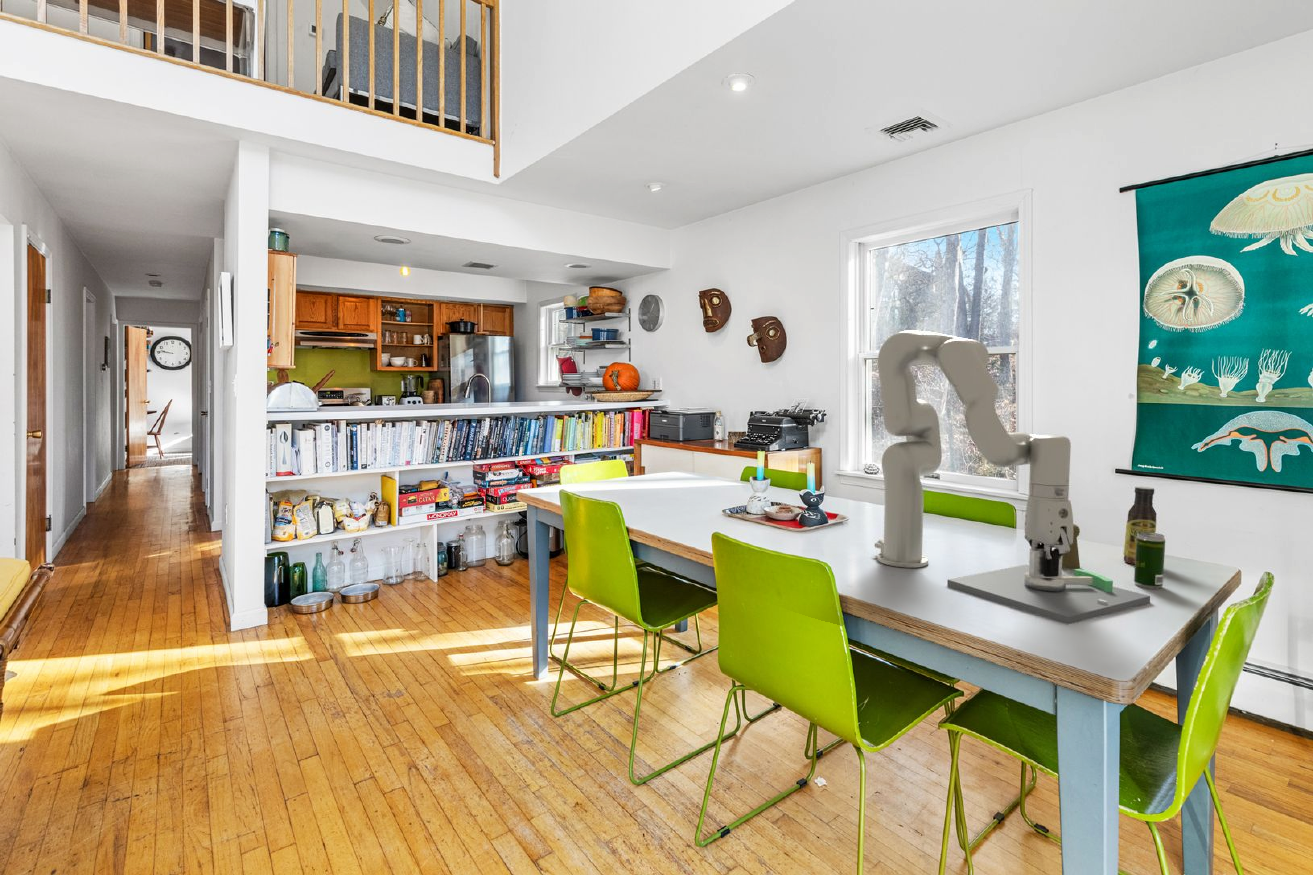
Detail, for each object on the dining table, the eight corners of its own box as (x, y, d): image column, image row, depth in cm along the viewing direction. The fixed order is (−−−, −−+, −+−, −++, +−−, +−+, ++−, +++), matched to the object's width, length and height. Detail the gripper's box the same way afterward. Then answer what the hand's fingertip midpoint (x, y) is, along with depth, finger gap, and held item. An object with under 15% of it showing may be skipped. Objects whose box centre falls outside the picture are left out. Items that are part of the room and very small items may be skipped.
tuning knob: (1035, 590, 144) (1037, 554, 143) (1017, 580, 152) (1018, 545, 151) (1102, 591, 143) (1104, 555, 142) (1080, 580, 151) (1081, 546, 150)
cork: (1084, 569, 167) (1086, 526, 166) (1057, 568, 168) (1059, 525, 167) (1074, 563, 173) (1076, 521, 172) (1048, 562, 174) (1050, 520, 173)
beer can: (1167, 587, 152) (1170, 535, 151) (1154, 590, 150) (1157, 538, 149) (1142, 581, 157) (1144, 530, 156) (1128, 584, 155) (1131, 533, 154)
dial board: (947, 585, 154) (947, 569, 154) (1025, 570, 166) (1026, 555, 166) (1068, 624, 129) (1069, 604, 129) (1149, 602, 141) (1150, 584, 141)
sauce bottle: (1126, 565, 171) (1130, 488, 169) (1120, 559, 177) (1124, 485, 175) (1157, 567, 168) (1161, 489, 167) (1149, 561, 174) (1154, 486, 173)
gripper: (1092, 497, 138) (1088, 584, 140) (1039, 485, 154) (1035, 563, 156) (1059, 498, 137) (1055, 585, 139) (1008, 486, 153) (1006, 564, 155)
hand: (1045, 573), depth 147 cm, fingers open, 2 cm apart
